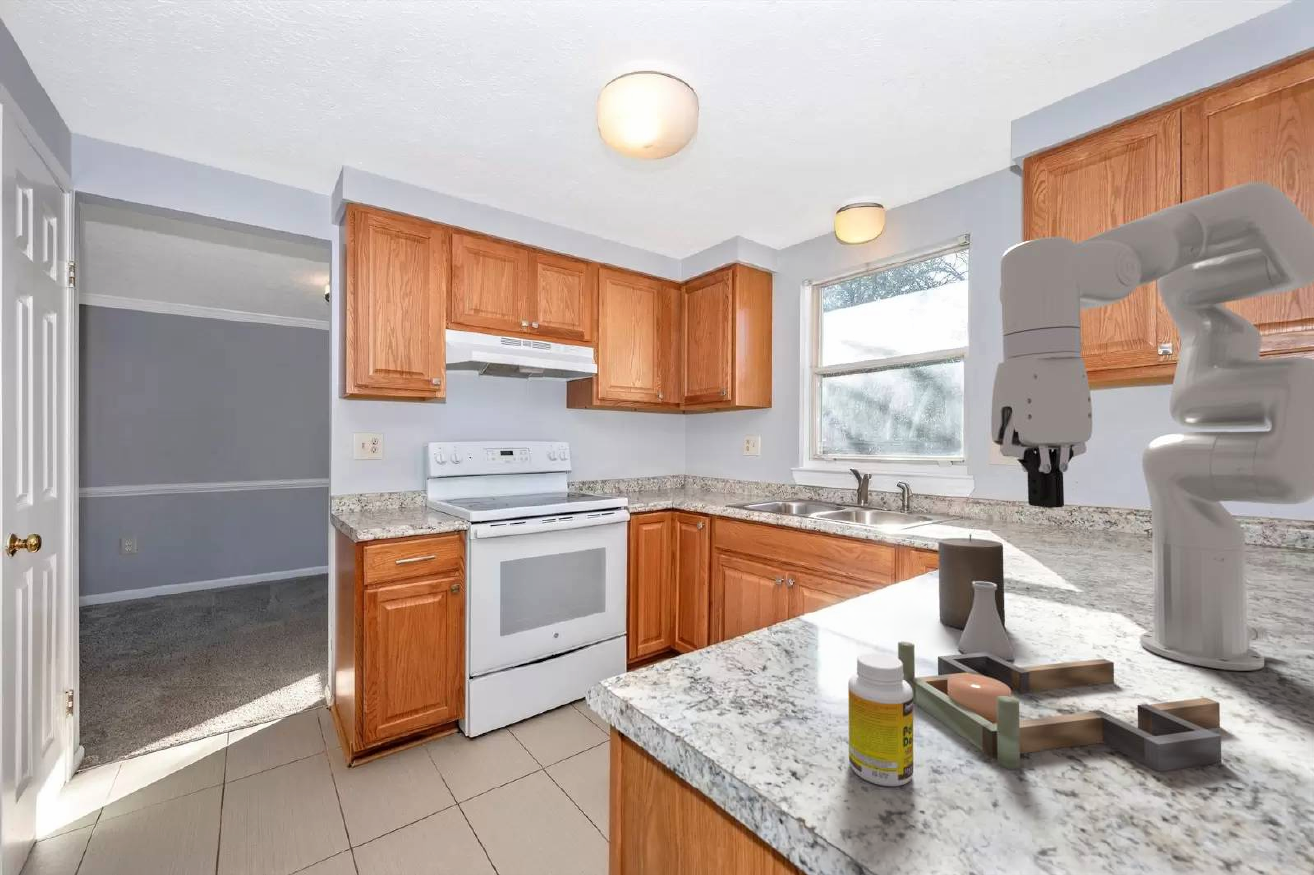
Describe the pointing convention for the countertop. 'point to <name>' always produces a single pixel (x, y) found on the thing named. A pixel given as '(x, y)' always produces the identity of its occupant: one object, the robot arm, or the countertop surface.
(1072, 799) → the countertop surface
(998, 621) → the flask
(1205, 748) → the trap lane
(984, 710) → the short salmon cylinder
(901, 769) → the supplement bottle
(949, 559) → the pillar candle
